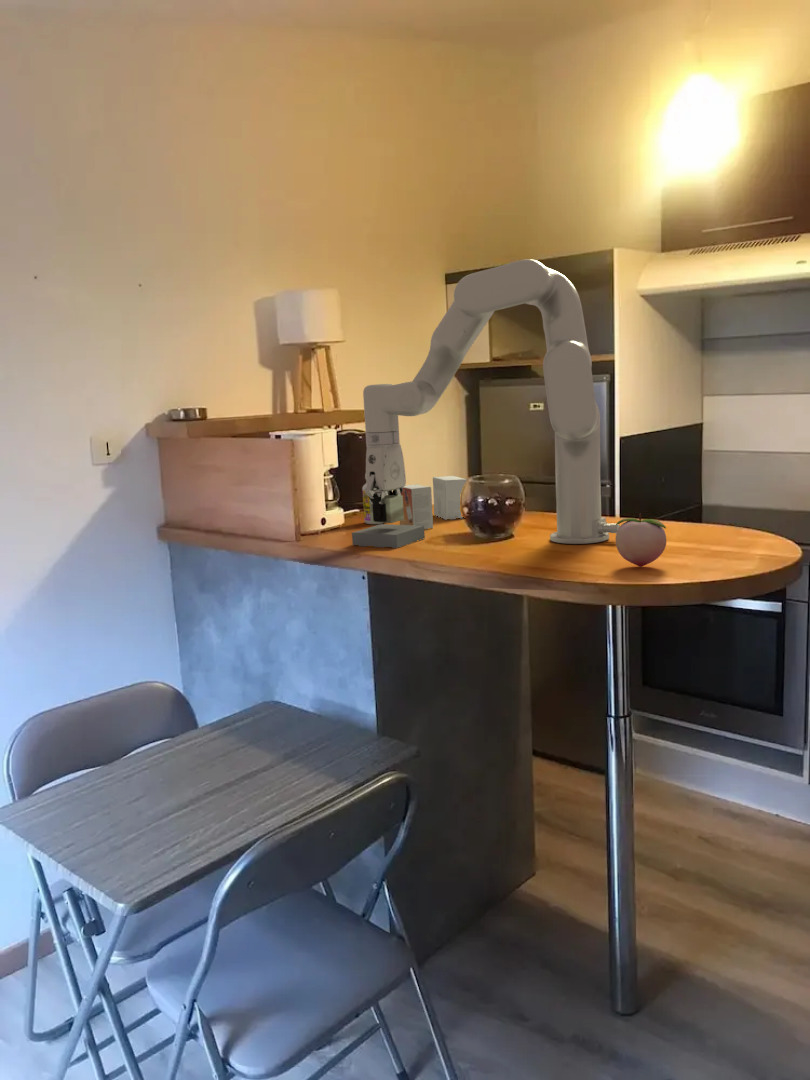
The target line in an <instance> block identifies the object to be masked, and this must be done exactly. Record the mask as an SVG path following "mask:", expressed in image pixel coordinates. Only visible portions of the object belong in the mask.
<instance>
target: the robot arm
mask: <svg viewBox="0 0 810 1080" xmlns="http://www.w3.org/2000/svg"><path fill="white" fill-rule="evenodd" d="M523 304H525V305H531V306H535V307H536V308H537V309H538V310H539V311H540V313H541V318H542V327H543V333H544V337H545V345H546V353H545V355H544V357H543V360H542V361H543V362H542V369H543V370H542V371H543V378H544V386H545V392H546V400H547V407H548V415H549V416H548V417H549V422H550V424H551V427H552V430H553V431H554V463H555V470H554V472H555V473H554V474H555V500H556V502H555V503H556V506H555V507H556V531H554V532H552V533H551V534H549V535H550V536H549V539H550V541H551V542H554V543H557V544H566V545H568V544H569V545H584V544H585V545H587V544H595V543H597V544H598V543H602V542H605V541H607V540H609V539H610V534H616V533H617V530H618V528H619V527H620V526H621V525H620V524H618V525H616V524H617V523H608V522H607V521H606V517H605V516H604V517H603V516H602V498H601V497H602V495H601V493H602V492H601V488H602V487H601V413H600V408H599V406H598V403H597V401H596V396H595V387H594V379H593V371H592V366H593V365H592V363H593V362H592V355H591V353H590V349H589V344H588V335H587V331H586V325H585V318H584V313H583V312H584V311H583V307H582V302H581V299H580V295H579V293H578V291H577V288H576V287H575V286H574V284H573V283H572V282H571V281H570V280H569V278H567V277H566V276H565V275H564V274H562V273H560V272H559V271H557V270H554V269H552V268H549V267H547V266H545V264H543V263H542V262H540V261H538V260H536V259H533V258H532V259H530V258H529V259H527V258H525V259H521V260H517V261H513V262H509V263H505V264H501V265H499V266H495V267H491V268H488V269H484V270H480V271H477V272H472V273H470V274H467V275H465V276H463V277H462V278H461V279H459V281H458V282H457V284H456V285H455V287H454V290H453V302H452V303H451V305H450V306H449V308H448V309H447V311H446V313H445V314H444V316H443V317H442V319H441V320H440V322H439V323H438V325H437V326H436V328H435V329H434V331H433V333H432V334H431V337H430V338H431V339H430V346H429V350H428V351H429V352H428V353H427V357H426V359H425V360H424V362H423V364H422V365H421V368H420V369H419V371H418V372H417V373H416V375H415V376H414V378H413V379H412V381H407V382H401V383H397V384H391V383H379V384H369V385H366V386H365V387H364V388H363V390H362V391H363V393H362V394H363V395H362V397H363V411H364V412H363V413H364V414H363V415H364V426H365V427H364V429H365V445H366V452H365V475H366V479H365V481H366V482H367V486H366V489H365V493H366V494H367V495H368V496H369V499H370V500H371V504H372V506H373V520H374V521H375V522H385V521H386V504H383V503H384V496H385V491H387V493H388V495H399V496H401V493H402V490H403V487H404V486H405V485H406V483H407V482H406V481H407V480H406V479H407V478H406V468H405V459H404V454H403V448H402V445H401V441H400V427H399V426H400V425H399V416H403V417H417V416H420V415H423V414H427V413H428V412H430V411H431V410H432V409H433V408H434V407H435V406H436V404H437V403H438V402H439V400H440V398H441V397H442V395H443V394H444V393H445V391H446V390H447V388H448V387H449V385H450V383H451V382H452V381H453V380H452V379H454V376H455V375H456V373H457V371H458V370H459V368H460V366H461V364H462V362H463V361H464V359H465V357H466V355H467V354H468V352H469V351H470V349H471V348H472V346H473V344H474V343H475V341H476V340H477V338H478V336H480V333H482V331H483V330H484V328H485V326H486V325H487V324H488V322H489V321H490V319H491V318H492V316H493V314H494V313H495V311H499V310H503V309H507V308H512V307H516V306H519V305H523ZM366 482H365V483H366ZM379 489H381V490H379ZM377 493H380V497H379V496H378V495H377Z"/></svg>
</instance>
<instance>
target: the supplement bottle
mask: <svg viewBox="0 0 810 1080" xmlns="http://www.w3.org/2000/svg"><path fill="white" fill-rule="evenodd" d="M364 479H365V480H366V474H365V475H364ZM366 486H367V482H365V483H364V484H363V486H362V487H361V489H362V491H361V492H362V505H363V517H364V518H363V519H364V523H365V524H367V525H379V524H383V523H374V522H371V518H370V502H369V496H368V495H367V494H366V493H365V489H366ZM379 490H381V489H379ZM377 495H378V496H380V493H377ZM385 495H388V493H387V491H385Z"/></svg>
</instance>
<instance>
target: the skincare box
mask: <svg viewBox="0 0 810 1080" xmlns="http://www.w3.org/2000/svg"><path fill="white" fill-rule="evenodd" d="M467 480H468V479H467V478H463V477H459V476H456V475H446V476H432V486H433V487H432V491H433V515H436V516H435V517H437V516H438V517H437V518H440V517H441V518H440V519H442V518H443V519H442V520H445V521H448V520H447V519H450V520H457V519H456V518H460V519H463V518H462V516H461V511H460V494H461V491H462V488H463V486H464V484H465V483H466V481H467ZM467 482H468V481H467Z"/></svg>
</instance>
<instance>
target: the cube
mask: <svg viewBox="0 0 810 1080" xmlns="http://www.w3.org/2000/svg"><path fill="white" fill-rule="evenodd" d="M379 497H380V496H379ZM369 502H370V518H371V522H374V523H384V524H393V523H397V522H400V520H403V519H404V511H403V496H399V495H385V496H384V503H383V504H386V521H385V522H375V521H374V520H373V506H372V504H371V500H370V499H369Z"/></svg>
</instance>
